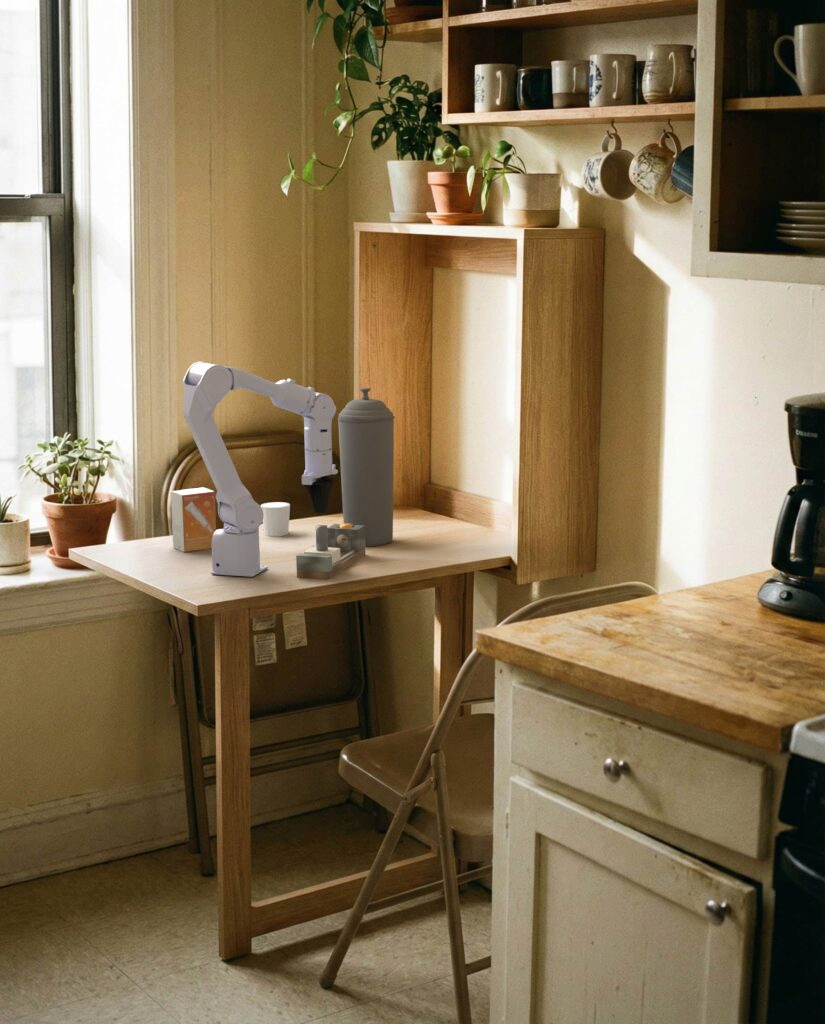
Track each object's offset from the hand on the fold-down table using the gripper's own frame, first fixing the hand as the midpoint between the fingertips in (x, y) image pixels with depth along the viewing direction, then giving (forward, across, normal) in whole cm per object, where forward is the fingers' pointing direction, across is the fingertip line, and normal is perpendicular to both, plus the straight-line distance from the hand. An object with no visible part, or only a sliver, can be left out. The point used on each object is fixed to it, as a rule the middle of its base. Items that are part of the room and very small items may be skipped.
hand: (320, 512), depth 288 cm
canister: (+11, +19, -4) cm, 22 cm away
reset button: (+6, +5, -4) cm, 9 cm away
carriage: (+8, -9, -4) cm, 13 cm away
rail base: (+10, -4, -4) cm, 12 cm away
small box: (+11, +4, +32) cm, 34 cm away
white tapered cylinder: (+11, +22, +20) cm, 32 cm away
